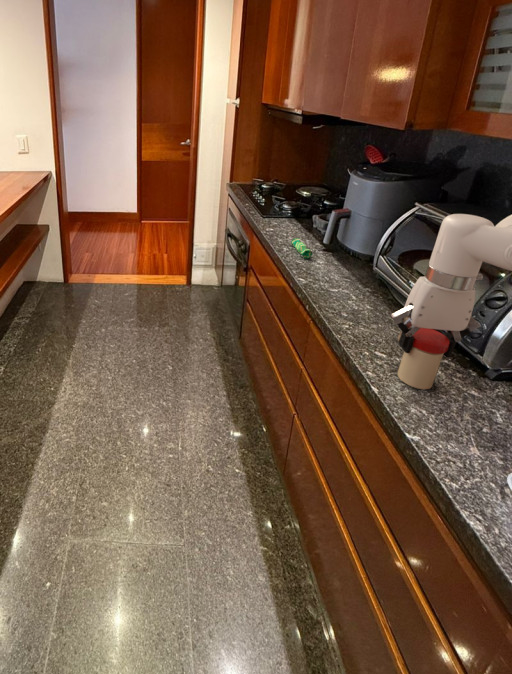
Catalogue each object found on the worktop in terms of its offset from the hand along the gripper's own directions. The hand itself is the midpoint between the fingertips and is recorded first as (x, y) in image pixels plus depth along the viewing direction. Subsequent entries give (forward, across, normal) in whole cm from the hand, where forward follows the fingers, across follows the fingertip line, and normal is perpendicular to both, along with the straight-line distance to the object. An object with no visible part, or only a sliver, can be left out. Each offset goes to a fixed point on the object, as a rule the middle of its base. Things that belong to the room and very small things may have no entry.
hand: (423, 350), depth 82 cm
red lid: (-3, 0, 0) cm, 3 cm away
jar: (+8, 0, 0) cm, 8 cm away
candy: (+8, +9, -68) cm, 69 cm away
